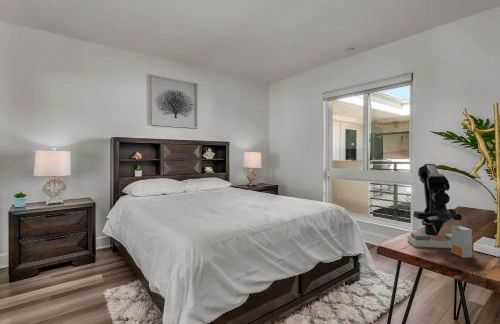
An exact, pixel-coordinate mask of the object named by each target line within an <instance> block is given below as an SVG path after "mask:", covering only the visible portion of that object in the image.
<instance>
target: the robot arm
mask: <svg viewBox="0 0 500 324" xmlns="http://www.w3.org/2000/svg"><path fill="white" fill-rule="evenodd" d="M436 165H437V164H435V163H425V164H423V166H420V167H418V170H417V174H418V175H417V176H418V177H419V181H420V182H421V183H422V184H423V191H424V200H425V208H424V210H423V211H419V210H417V211H416V210H415V211H413V217H414V218H416V219H419V220H421V225H422V226H424V233H425V234H427V235H437V236H439V233H440V232H441V229H442V228H443V225H444V224H445V223H446V222H448V221H451V219H453V220H454V221H462V220H463V215H462V214H461V213H459V212H457V211H456V209H455V208H447V204H448V203H449V202H450V199H451V197H450V196H449V194H448V193H446V191H450V188H451V185H450V183H449V180H448V178H447V177H446V175H444V174H443V173H440V172H439V170H438V167H437V166H436Z"/></svg>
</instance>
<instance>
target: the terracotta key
mask: <svg viewBox="0 0 500 324" xmlns="http://www.w3.org/2000/svg"><path fill="white" fill-rule="evenodd" d="M429 236H430V239H431V240H433V241H448V239H446V238H444V237H442V235H438V236H437V235H429Z"/></svg>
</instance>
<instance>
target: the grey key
mask: <svg viewBox="0 0 500 324" xmlns="http://www.w3.org/2000/svg"><path fill="white" fill-rule="evenodd" d="M410 235H411V237H412V238H414V239H415V240H430V236H429V235H427V234H425V232H413V231H412V232H410Z"/></svg>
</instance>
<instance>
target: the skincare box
mask: <svg viewBox="0 0 500 324" xmlns="http://www.w3.org/2000/svg"><path fill="white" fill-rule="evenodd" d="M450 234H451V248H450V250H451V254H455V255H457V256H459V257H461V258H464V259H465V258H473V236H472V235H473V229H471V228H468V227H464V226H462V225H452V226H451V232H450Z"/></svg>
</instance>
